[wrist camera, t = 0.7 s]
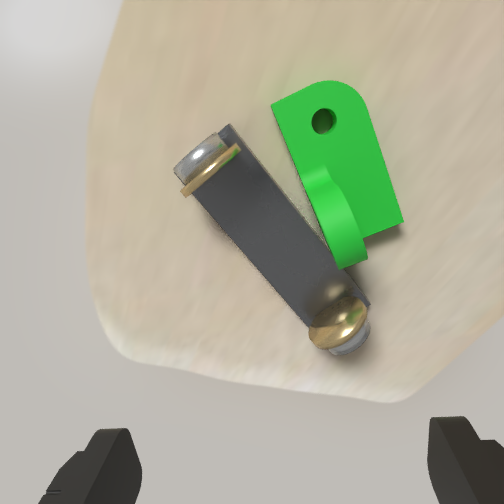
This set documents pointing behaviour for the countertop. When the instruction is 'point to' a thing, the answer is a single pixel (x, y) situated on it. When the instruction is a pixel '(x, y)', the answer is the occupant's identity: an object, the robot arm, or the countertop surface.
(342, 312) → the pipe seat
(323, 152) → the mechanical part
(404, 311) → the countertop surface
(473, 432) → the robot arm
